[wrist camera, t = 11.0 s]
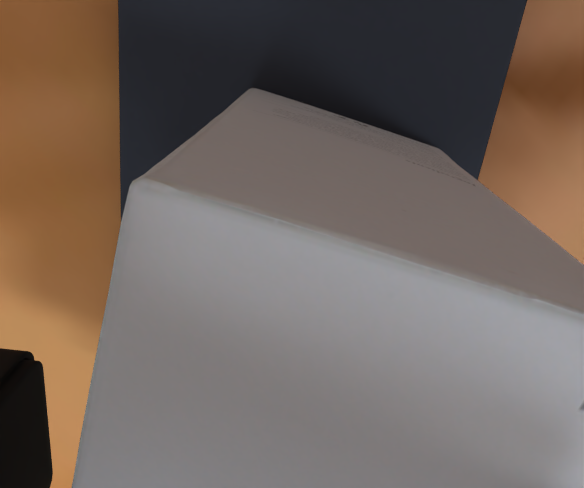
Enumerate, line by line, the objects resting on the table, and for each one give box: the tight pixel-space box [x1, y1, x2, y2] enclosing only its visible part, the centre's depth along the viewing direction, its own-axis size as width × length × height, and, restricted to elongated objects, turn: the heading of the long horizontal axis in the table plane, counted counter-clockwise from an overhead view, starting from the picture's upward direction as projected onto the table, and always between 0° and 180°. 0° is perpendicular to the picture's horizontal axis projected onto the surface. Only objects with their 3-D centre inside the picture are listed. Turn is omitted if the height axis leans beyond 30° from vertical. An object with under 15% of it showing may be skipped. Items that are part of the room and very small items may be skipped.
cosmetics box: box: [72, 88, 584, 488], centre depth 11 cm, size 10×6×10 cm, turn 162°
